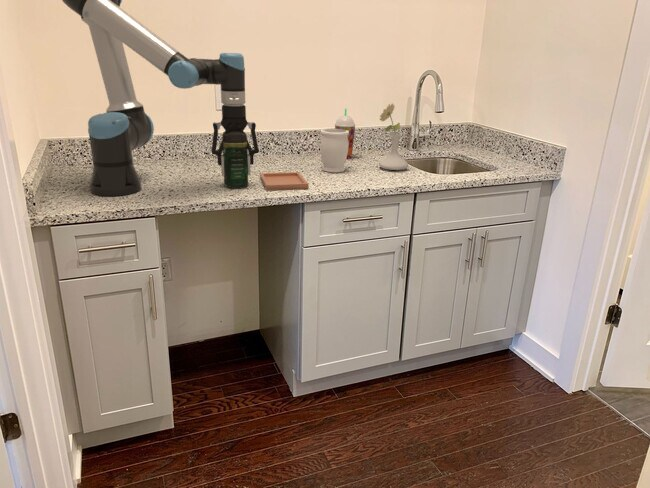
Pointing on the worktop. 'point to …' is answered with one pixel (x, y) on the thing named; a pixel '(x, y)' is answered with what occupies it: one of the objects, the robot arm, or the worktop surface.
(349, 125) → the smoothie
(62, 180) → the worktop surface
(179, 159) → the worktop surface
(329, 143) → the jar
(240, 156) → the coffee jar
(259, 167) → the worktop surface
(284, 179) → the tray
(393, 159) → the flower in vase
